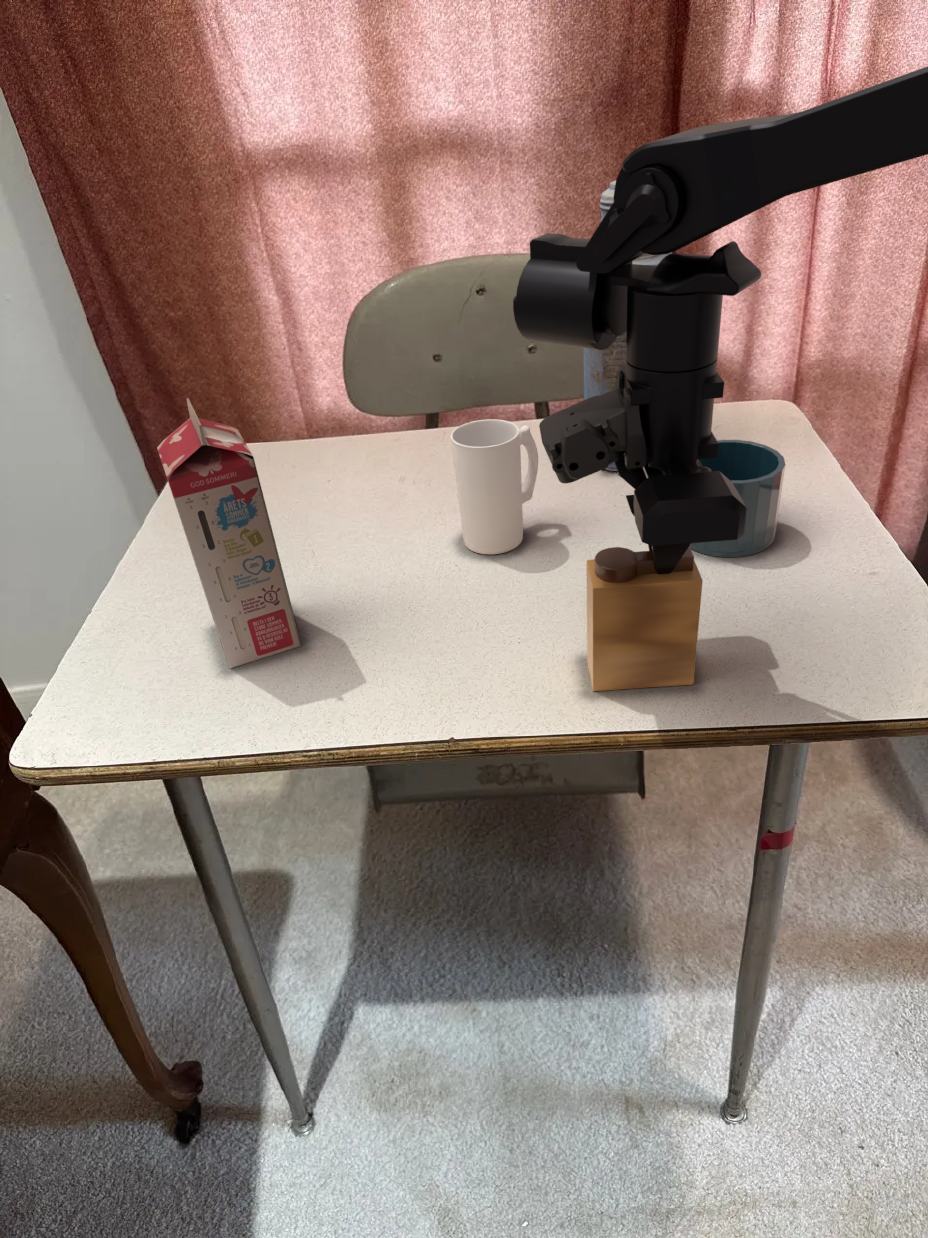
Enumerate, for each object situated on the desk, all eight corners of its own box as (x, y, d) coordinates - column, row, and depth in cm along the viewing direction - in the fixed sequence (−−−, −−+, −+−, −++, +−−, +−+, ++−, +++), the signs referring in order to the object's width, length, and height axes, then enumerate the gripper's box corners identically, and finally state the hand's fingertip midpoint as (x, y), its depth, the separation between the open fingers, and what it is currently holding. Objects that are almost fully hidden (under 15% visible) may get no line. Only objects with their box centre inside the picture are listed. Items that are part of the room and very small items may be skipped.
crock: (784, 518, 86) (794, 446, 82) (761, 565, 80) (771, 489, 75) (691, 503, 90) (697, 434, 86) (663, 547, 84) (667, 474, 79)
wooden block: (683, 654, 70) (691, 551, 64) (693, 684, 67) (703, 579, 61) (587, 660, 70) (586, 559, 65) (592, 691, 67) (592, 588, 61)
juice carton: (284, 609, 81) (226, 389, 68) (301, 645, 76) (242, 414, 63) (216, 630, 79) (144, 407, 66) (229, 668, 74) (153, 435, 61)
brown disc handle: (686, 554, 64) (687, 541, 63) (696, 577, 61) (697, 563, 61) (592, 561, 64) (592, 548, 64) (597, 584, 62) (597, 570, 61)
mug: (489, 564, 84) (480, 453, 77) (448, 541, 89) (436, 434, 82) (561, 526, 89) (558, 420, 82) (519, 506, 93) (513, 403, 87)
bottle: (586, 475, 98) (584, 193, 81) (581, 440, 106) (579, 177, 89) (668, 471, 97) (685, 184, 80) (658, 436, 105) (671, 168, 88)
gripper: (535, 326, 62) (543, 513, 71) (558, 425, 46) (564, 648, 55) (688, 311, 61) (676, 502, 70) (762, 408, 46) (734, 636, 55)
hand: (660, 564), depth 63 cm, fingers closed
